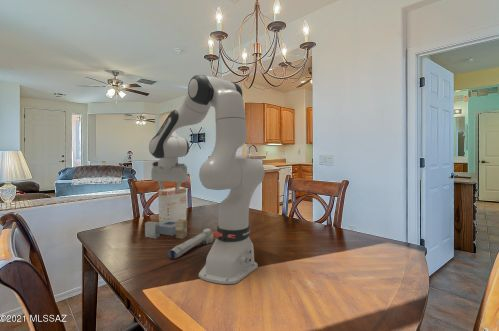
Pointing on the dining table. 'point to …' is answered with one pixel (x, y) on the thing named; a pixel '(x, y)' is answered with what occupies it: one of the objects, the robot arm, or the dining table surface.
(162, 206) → the coffeecake box
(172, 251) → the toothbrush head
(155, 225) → the pale grey block
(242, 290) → the dining table surface
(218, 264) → the robot arm
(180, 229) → the block
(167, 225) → the bore block
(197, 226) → the dining table surface
